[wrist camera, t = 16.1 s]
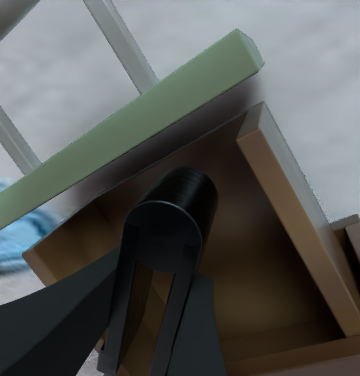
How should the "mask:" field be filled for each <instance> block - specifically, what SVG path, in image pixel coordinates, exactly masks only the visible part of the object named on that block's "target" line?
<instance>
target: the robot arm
mask: <svg viewBox="0 0 360 376" xmlns="http://www.w3.org/2000/svg"><path fill="white" fill-rule="evenodd" d="M119 250H120V246H118V247H116V248H115V249H113V250H111V251H110V252H108V253H107V254H105V255H103V256H102V257H100V258H99V259H97V260H95V261H94V262H92V263H90V264H89V265H87V266H85V267H83V268H82V269H80V270H78V271H77V272H75V273H73V274H71V275H69V276H67V277H65V278H63V279H61V280H59V281H58V282H56V283H54V284H52V285H50V286H48V287H45V288H43V289H41V290H39V291H37V292H34V293H32V294H30V295H27V296H25V297H22V298H20V299H17V300H15V301H12V302H9V303H6V304H3V305H0V376H76V374H77V373H78V371H79V369H80V368H81V366H82V365H83V363H84V362H85V360H86V359H87V357H88V356H89V354H90V353H91V351H92V350H93V348H94V347H95V345H96V344H97V342H98V341H99V339H100V338H101V336H102V335H103V334H104V332H105V330H106V329H107V327H108V322H109V315H110V309H111V302H112V296H113V289H114V282H115V276H116V269H117V263H118V256H119ZM167 376H228V375H227V371H226V368H225V364H224V360H223V356H222V351H221V347H220V342H219V337H218V331H217V325H216V318H215V310H214V280H213V278H211V277H208V276H205V275H202V274H200V273H197V274H196V277H195V279H194V282H193V285H192V287H191V290H190V293H189V297H188V300H187V303H186V307H185V310H184V314H183V317H182V320H181V324H180V327H179V331H178V334H177V337H176V341H175V344H174V348H173V351H172V355H171V360H170V364H169V368H168V372H167Z"/></svg>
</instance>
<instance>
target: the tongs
mask: <svg viewBox="0 0 360 376" xmlns="http://www.w3.org/2000/svg"><path fill="white" fill-rule="evenodd" d="M218 200H219V199H218V192H217V189H216V187H215V185H214V183H213V182H212V180H211V179H210V178H209V177H208V176H207V175H206V174H204V173H203V172H201V171H199V170H197V169H195V168H191V167H176V168H172V169H170V170H168V171H167V172H165V173H164V174H163V175H162V176H161V177H160V178H159V179H158V180H157V181H156V183H155V184H154V185H153V186H152V187H151V188H150V189H149V190H148V191H147V192H146V194H145V195H144V196H143V197H142V198H141V199H140V200H139V201H138V202H137V203H136V205H135V206H134V207H133V208H132V209H131V210H130V211H129V212H128V214H127V216H126V218H125V220H124V223H123V230H122V237H121V243H120V250H119V256H118V263H117V269H116V276H115V282H114V289H113V296H112V302H111V309H110V315H109V322H108V328H107V335H106V340H105V341H104V343H103V345H102V346H101V348H100V350H99V356H98V363H97V370H98V371H100V372H102V373H105V374H107V375H109V376H115V375H116V374H117V372H118V370H119V368H120V366H121V364H122V361H123V359H124V357H125V355H126V353H127V351H128V349H129V347H130V345H131V343H132V341H133V339H134V337H135V335H136V333H137V331H138V329H139V327H140V325H141V322H142V320H143V316H144V312H145V308H146V303H147V299H148V294H149V290H150V285H151V280H152V276H153V271H157V272H161V273H174V276H173V280H172V284H171V288H170V292H169V295H168V299H167V303H166V307H165V311H164V315H163V319H162V323H161V327H160V331H159V335H158V338H157V342H156V346H155V350H154V354H153V358H152V362H151V366H150V370H149V374H148V376H167V372H168V368H169V364H170V360H171V355H172V351H173V348H174V344H175V341H176V337H177V334H178V331H179V327H180V324H181V320H182V317H183V314H184V310H185V307H186V303H187V300H188V297H189V293H190V290H191V287H192V285H193V282H194V279H195V277H196V274H197V273H198V271H199V267H200V264H201V261H202V257H203V254H204V251H205V247H206V244H207V241H208V237H209V234H210V231H211V227H212V224H213V221H214V217H215V214H216V210H217V207H218Z"/></svg>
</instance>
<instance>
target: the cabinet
mask: <svg viewBox="0 0 360 376" xmlns="http://www.w3.org/2000/svg"><path fill="white" fill-rule="evenodd" d="M330 226H331V228H332V230H333V232H334V233H335V235H336V237H337V239H338V241H339V243H340V245H341V247H342V249H343V250H344V252H345V254H346V256H347V258H348V260H349V262H350V264H351V266H352V268H353V269H354V271H355V273H356V275H357V277H358V279H359V281H360V218H359V216H358V215H357V214H355V215H352V216H350V217H347V218H344V219H341V220H339V221H336V222H333V223H330ZM224 364H225V368H226V371H227V375H228V376H360V335H357V336H353V337H348V338H343V339H338V340H334V341H329V342H324V343H319V344H315V345H310V346H305V347H300V348H296V349H291V350H286V351H281V352H277V353H272V354H267V355H262V356H258V357H253V358H248V359H243V360H239V361H234V362H229V363H224ZM103 376H109V375H107V374H105V373H104V375H103ZM115 376H116V375H115Z"/></svg>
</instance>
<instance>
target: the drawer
mask: <svg viewBox="0 0 360 376" xmlns="http://www.w3.org/2000/svg"><path fill="white" fill-rule="evenodd" d="M39 1H40V0H0V42H1V40H2V39H3V38H4V37H5V36H6V35H7V34H8V33H9V32H10V31H11V30H12V29H13V28H14V27H15V26H16V25H17V24H18V23H19V22H20V21H21V20H22V19H23V18H24V17H25V16H26V15H27V14H28V13H29V12H30V11H31V9H32V8H33V7H34V6H35V5H36V4H37V3H38V2H39ZM83 1H84V3H85V5H86V6H87V8H88V9H89V11H90V13H91V14H92V16H93V18H94V19H95V21H96V22H97V24H98V26H99V27H100V29H101V31H102V32H103V34H104V36H105V37H106V39H107V40H108V42H109V44H110V45H111V47H112V49H113V50H114V52H115V53H116V55H117V57H118V58H119V60H120V62H121V63H122V65H123V67H124V68H125V70H126V71H127V73H128V75H129V76H130V78H131V80H132V81H133V83H134V84H135V86H136V88H137V89H138V91H139V93H140V94H141V95H140V96H139V97H137V98H136V99H134V100H133V101H131V102H130V103H129V104H127V105H126V106H124V107H123V108H121V109H120V110H119V111H117V112H116V113H114V114H113V115H111V116H110V117H108V118H107V119H106V120H104V121H103V122H101V123H100V124H98V125H97V126H96V127H94V128H93V129H91V130H90V131H88V132H87V133H86V134H84V135H83V136H81V137H80V138H78V139H77V140H75V141H74V142H73V143H71V144H70V145H68V146H67V147H65V148H64V149H63V150H61V151H60V152H58V153H57V154H55V155H54V156H52V157H51V158H50V159H48V160H47V161H45V162H44V163H41V162H40V161H39V159H38V158H37V156H36V155H35V154H34V152H33V151H32V149H31V148H30V147H29V145H28V144H27V142H26V141H25V140H24V138H23V137H22V135H21V134H20V133H19V131H18V130H17V128H16V127H15V126H14V124H13V123H12V122H11V120H10V119H9V117H8V116H7V115H6V113H5V112H4V110H3V109H2V108H1V106H0V143H1V144H2V146H3V147H4V148H5V150H6V151H7V152H8V154H9V155H10V156H11V158H12V159H13V161H14V162H15V163H16V165H17V166H18V167H19V169H20V170H21V171H22V173H23V174H24V175H25V176H24V177H22V178H21V179H19V180H18V181H17V182H15V183H14V184H12V185H11V186H9V187H8V188H7V189H5V190H4V191H2V192H1V193H0V230H2V229H3V228H5V227H6V226H8V225H10V224H11V223H13V222H15V221H16V220H18V219H20V218H21V217H23V216H24V215H26V214H28V213H29V212H31V211H33V210H34V209H36V208H37V207H39V206H41V205H42V204H44V203H46V202H47V201H49V200H51V199H52V198H54V197H55V196H57V195H59V194H60V193H62V192H64V191H65V190H67V189H68V188H70V187H72V186H73V185H75V184H77V183H78V182H80V181H82V180H83V179H85V178H86V177H88V176H90V175H91V174H93V173H95V172H96V171H98V170H99V169H101V168H103V167H104V166H106V165H108V164H109V163H111V162H113V161H114V160H116V159H117V158H119V157H121V156H122V155H124V154H126V153H127V152H129V151H130V150H132V149H134V148H135V147H137V146H139V145H140V144H142V143H143V142H145V141H147V140H148V139H150V138H152V137H153V136H155V135H157V134H158V133H160V132H161V131H163V130H165V129H166V128H168V127H170V126H171V125H173V124H174V123H176V122H178V121H179V120H181V119H183V118H184V117H186V116H188V115H189V114H191V113H192V112H194V111H196V110H197V109H199V108H201V107H202V106H204V105H205V104H207V103H209V102H210V101H212V100H214V99H215V98H217V97H219V96H220V95H222V94H223V93H225V92H227V91H228V90H230V89H232V88H233V87H235V86H236V85H238V84H240V83H241V82H243V81H245V80H246V79H248V78H250V77H251V76H253V75H254V74H256V73H258V72H259V70H260V69H261V68H262V67H263V65H264V64H265V62H264V60H263V58H262V57H261V55H260V53H259V51H258V49H257V47H256V45H255V43H254V41H253V39H251V38H250V37H248V36H247V35H246V34H244V33H243V32H241V31H240V30H239V29H235V30H233V31H232V32H230V33H229V34H228V35H226V36H225V37H223V38H222V39H220V40H219V41H218V42H216V43H215V44H213V45H212V46H210V47H209V48H208V49H206V50H205V51H203V52H202V53H200V54H199V55H197V56H196V57H195V58H193V59H192V60H190V61H189V62H187V63H186V64H185V65H183V66H182V67H180V68H179V69H177V70H176V71H175V72H173V73H172V74H170V75H169V76H167V77H166V78H164V79H163V80H162V81H159V80H158V78H157V76H156V75H155V73H154V71H153V70H152V68H151V66H150V65H149V63H148V61H147V60H146V58H145V56H144V54H143V53H142V51H141V49H140V48H139V46H138V44H137V43H136V41H135V39H134V38H133V36H132V34H131V33H130V31H129V29H128V28H127V26H126V24H125V23H124V21H123V19H122V17H121V16H120V14H119V12H118V11H117V9H116V7H115V6H114V4H113V2H112V1H111V0H83ZM176 167H191V168H195V169H197V170H199V171H201V172H203V173H204V174H206V175H207V176H208V177H209V178H210V179H211V180H212V182H213V183H214V185H215V187H216V189H217V192H218V199H219V200H218V207H217V210H216V214H215V217H214V221H213V224H212V227H211V231H210V234H209V237H208V241H207V244H206V247H205V251H204V254H203V257H202V261H201V264H200V267H199V271H198V273H200V274H202V275H205V276H208V277H211V278H213V280H214V310H215V318H216V325H217V331H218V337H219V342H220V347H221V351H222V356H223V360H224V363H229V362H234V361H239V360H243V359H248V358H253V357H258V356H262V355H267V354H272V353H277V352H281V351H286V350H291V349H296V348H300V347H305V346H310V345H315V344H319V343H324V342H329V341H334V340H338V339H343V338H348V337H353V336H357V335H360V281H359V279H358V277H357V275H356V273H355V271H354V269H353V268H352V266H351V264H350V262H349V260H348V258H347V256H346V254H345V252H344V250H343V249H342V247H341V245H340V243H339V241H338V239H337V237H336V235H335V233H334V232H333V230H332V228H331V226H330V224H329V222H328V220H327V218H326V216H325V214H324V213H323V211H322V209H321V207H320V205H319V203H318V201H317V199H316V197H315V195H314V194H313V192H312V190H311V188H310V186H309V184H308V182H307V180H306V178H305V177H304V175H303V173H302V171H301V169H300V167H299V165H298V163H297V161H296V159H295V158H294V156H293V154H292V152H291V150H290V148H289V146H288V144H287V142H286V141H285V139H284V137H283V135H282V133H281V131H280V129H279V127H278V125H277V123H276V122H275V120H274V118H273V116H272V114H271V112H270V110H269V108H268V106H267V105H266V103H265V101H262V102H260V103H259V104H257V105H255V106H253V107H252V108H250V109H248V110H246V111H244V112H243V113H241V114H239V115H237V116H236V117H234V118H232V119H230V120H229V121H227V122H225V123H223V124H222V125H220V126H218V127H216V128H215V129H213V130H211V131H209V132H208V133H206V134H204V135H202V136H200V137H199V138H197V139H195V140H193V141H192V142H190V143H188V144H186V145H185V146H183V147H181V148H179V149H178V150H176V151H174V152H172V153H171V154H169V155H167V156H165V157H164V158H162V159H160V160H158V161H157V162H155V163H153V164H151V165H149V166H148V167H146V168H144V169H142V170H141V171H139V172H137V173H135V174H134V175H132V176H130V177H128V178H127V179H125V180H123V181H121V182H120V183H118V184H116V185H114V186H113V187H111V188H109V189H107V190H106V191H104V192H102V193H100V194H98V195H97V196H95V197H93V198H91V199H90V200H89V201H87V202H86V203H85V204H84V205H82V206H81V207H80V208H79V209H77V210H76V211H75V212H74V213H72V214H71V215H70V216H69V217H67V218H66V219H65V220H64V221H62V222H61V223H60V224H59V225H57V226H56V227H55V228H54V229H52V230H51V231H50V232H49V233H47V234H46V235H45V236H44V237H42V238H41V239H40V240H39V241H37V242H36V243H35V244H33V245H32V246H31V247H30V248H28V249H27V250H26V251H25V252H23V253H22V257H23V258H24V260H25V261H26V262H27V263H28V265H29V266H30V267H31V269H32V270H33V271H34V272H35V274H36V275H37V276H38V277H39V279H40V280H41V281H42V283H43V284H44V285H45V286H46V287H48V286H50V285H52V284H54V283H56V282H58V281H59V280H61V279H63V278H65V277H67V276H69V275H71V274H73V273H75V272H77V271H78V270H80V269H82V268H83V267H85V266H87V265H89V264H90V263H92V262H94V261H95V260H97V259H99V258H100V257H102V256H103V255H105V254H107V253H108V252H110V251H111V250H113V249H115V248H116V247H118V246H120V243H121V237H122V230H123V223H124V220H125V218H126V216H127V214H128V212H129V211H130V210H131V209H132V208H133V207H134V206H135V205H136V203H137V202H138V201H139V200H140V199H141V198H142V197H143V196H144V195H145V194H146V192H147V191H148V190H149V189H150V188H151V187H152V186H153V185H154V184H155V183H156V181H157V180H158V179H159V178H160V177H161V176H162V175H163V174H164V173H165V172H167V171H168V170H170V169H172V168H176ZM173 276H174V273H161V272H157V271H153V276H152V280H151V285H150V290H149V294H148V299H147V303H146V308H145V312H144V316H143V320H142V322H141V325H140V327H139V329H138V331H137V333H136V335H135V337H134V339H133V341H132V343H131V345H130V347H129V349H128V351H127V353H126V355H125V357H124V359H123V361H122V364H121V366H120V368H119V370H118V372H117V374H116V376H148V374H149V370H150V366H151V362H152V358H153V354H154V350H155V346H156V342H157V338H158V335H159V331H160V327H161V323H162V319H163V315H164V311H165V307H166V303H167V299H168V295H169V292H170V288H171V284H172V280H173ZM107 328H108V327H107ZM106 335H107V329H106V330H105V332H104V334H103V335H102V336H101V338H100V339H99V341H98V342H97V344H96V345H95V347H94V349H95V350H96V351H97V352H98V354H99V350H100V348H101V346H102V345H103V343H104V341H105V340H106Z"/></svg>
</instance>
